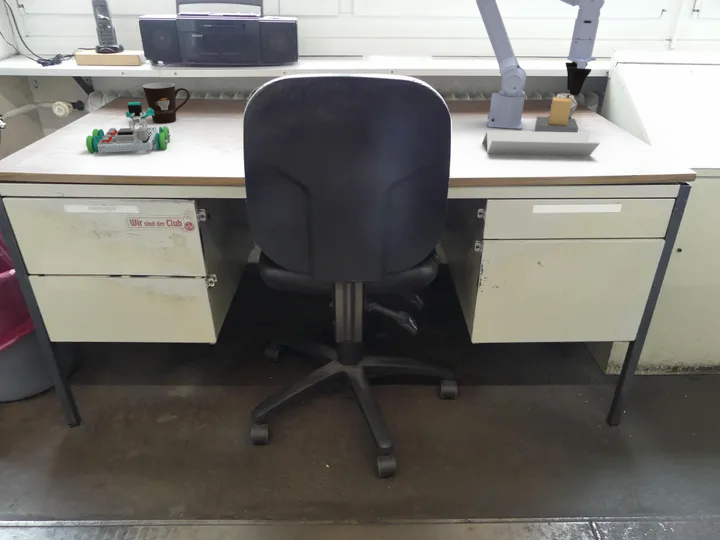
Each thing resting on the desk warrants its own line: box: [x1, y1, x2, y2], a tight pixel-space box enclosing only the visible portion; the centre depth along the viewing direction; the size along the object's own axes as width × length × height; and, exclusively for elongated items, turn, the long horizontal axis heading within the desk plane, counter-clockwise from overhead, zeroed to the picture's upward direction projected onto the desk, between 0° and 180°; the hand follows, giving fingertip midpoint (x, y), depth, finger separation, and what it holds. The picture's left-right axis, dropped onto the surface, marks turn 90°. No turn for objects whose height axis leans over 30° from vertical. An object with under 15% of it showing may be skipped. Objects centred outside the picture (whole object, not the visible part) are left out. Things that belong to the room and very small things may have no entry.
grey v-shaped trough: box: [481, 130, 601, 156], centre depth 132 cm, size 12×25×6 cm
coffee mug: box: [142, 82, 190, 125], centre depth 153 cm, size 12×9×10 cm
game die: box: [547, 90, 582, 119], centre depth 161 cm, size 9×8×10 cm
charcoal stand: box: [534, 116, 579, 133], centre depth 144 cm, size 10×10×4 cm
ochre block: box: [548, 96, 572, 125], centre depth 142 cm, size 4×4×6 cm
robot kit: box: [85, 101, 171, 154], centre depth 135 cm, size 19×25×9 cm
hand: (572, 92), depth 146 cm, fingers open, 7 cm apart
